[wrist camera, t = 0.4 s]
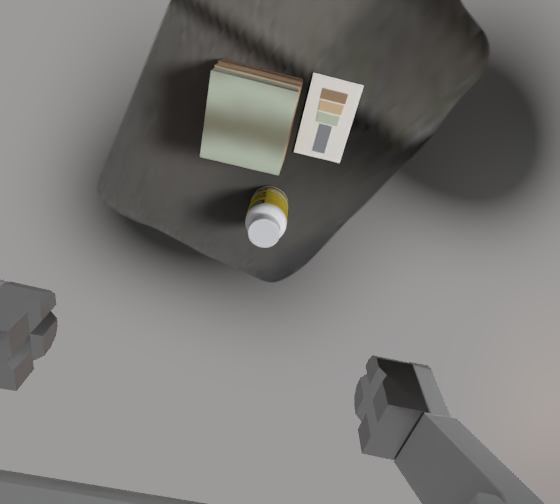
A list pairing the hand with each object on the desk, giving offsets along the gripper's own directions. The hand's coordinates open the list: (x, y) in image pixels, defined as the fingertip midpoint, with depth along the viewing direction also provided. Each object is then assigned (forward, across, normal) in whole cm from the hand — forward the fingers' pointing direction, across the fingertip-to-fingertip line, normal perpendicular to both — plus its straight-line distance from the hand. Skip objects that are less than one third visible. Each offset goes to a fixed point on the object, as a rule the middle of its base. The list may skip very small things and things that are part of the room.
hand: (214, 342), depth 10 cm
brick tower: (+45, +3, +2) cm, 45 cm away
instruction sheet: (+45, -7, +2) cm, 46 cm away
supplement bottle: (+46, -2, +14) cm, 48 cm away
